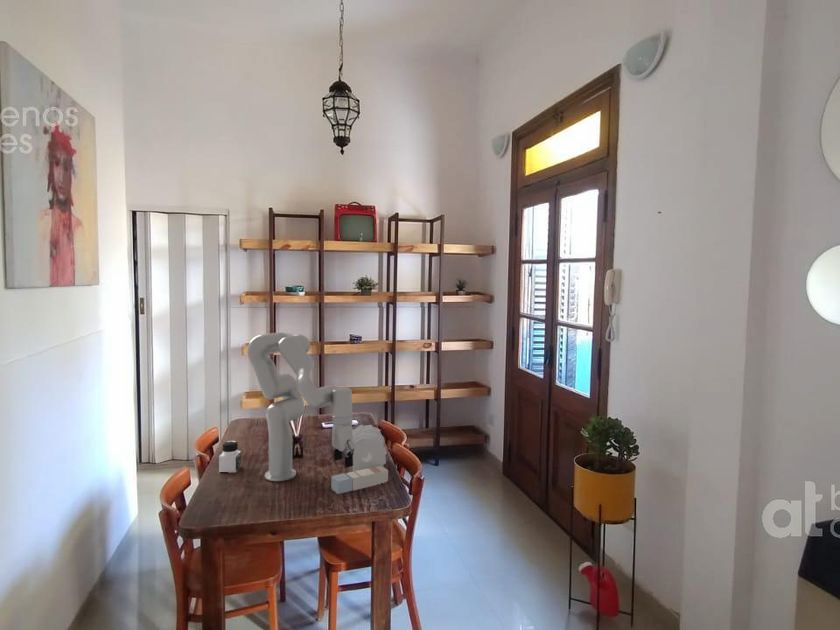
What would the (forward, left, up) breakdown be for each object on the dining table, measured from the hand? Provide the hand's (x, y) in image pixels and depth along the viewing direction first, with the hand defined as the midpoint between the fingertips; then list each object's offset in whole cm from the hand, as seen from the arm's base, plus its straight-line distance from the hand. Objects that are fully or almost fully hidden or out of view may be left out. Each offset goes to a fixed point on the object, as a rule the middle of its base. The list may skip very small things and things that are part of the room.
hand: (343, 463), depth 192 cm
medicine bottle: (-45, -32, -11) cm, 56 cm away
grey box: (-1, 0, -11) cm, 11 cm away
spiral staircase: (-17, +19, -11) cm, 27 cm away
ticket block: (-1, +11, -11) cm, 15 cm away
